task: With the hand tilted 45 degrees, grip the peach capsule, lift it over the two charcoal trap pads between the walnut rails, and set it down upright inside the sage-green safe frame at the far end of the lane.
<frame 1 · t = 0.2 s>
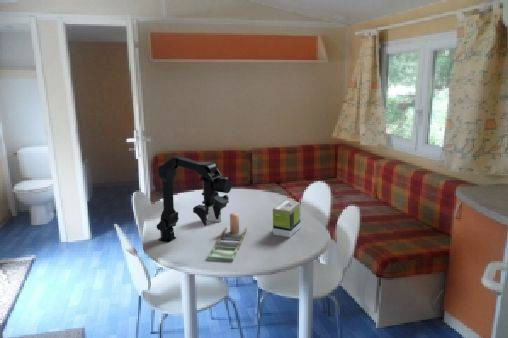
hand: (211, 222, 178), 14 cm above the table, tool pointing down, fingers open, 9 cm apart
skincare box: (215, 220, 221), on the table
tea box: (286, 231, 204), on the table
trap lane: (229, 242, 190), on the table
peach capsule: (234, 232, 203), on the table
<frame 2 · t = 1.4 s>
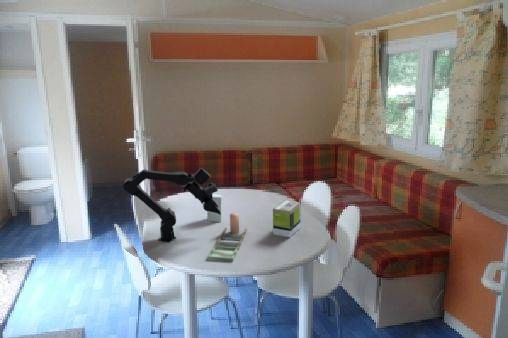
hand: (219, 210, 198), 13 cm above the table, tool tilted 45°, fingers open, 9 cm apart
nothing on the table moved.
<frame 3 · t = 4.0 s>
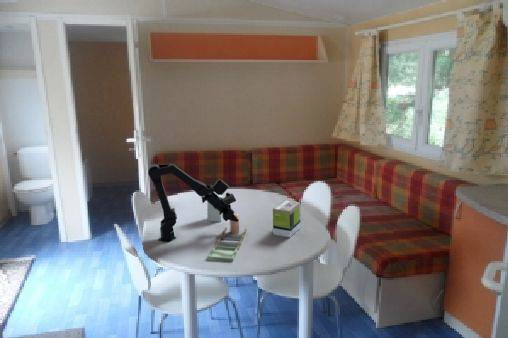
hand: (237, 219, 202), 7 cm above the table, tool tilted 45°, fingers closed on peach capsule, 5 cm apart
peach capsule: (234, 232, 203), on the table, touching gripper
everything else where it was.
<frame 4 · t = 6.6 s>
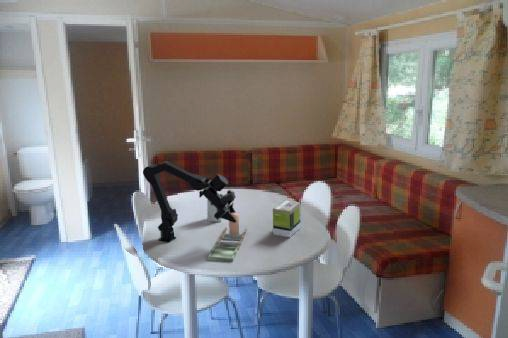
hand: (236, 220, 186), 12 cm above the table, tool tilted 45°, fingers closed on peach capsule, 5 cm apart
peach capsule: (234, 233, 188), point 5 cm above the table, touching gripper
everything else where it was.
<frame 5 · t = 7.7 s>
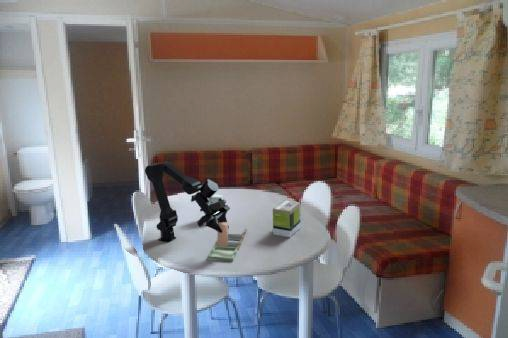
hand: (225, 230, 174), 12 cm above the table, tool tilted 45°, fingers closed on peach capsule, 5 cm apart
peach capsule: (223, 244, 176), point 5 cm above the table, touching gripper
everything else where it was.
when the fingers open (9 cm above the table, at t = 8.8 s): peach capsule drops 1 cm, resting on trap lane.
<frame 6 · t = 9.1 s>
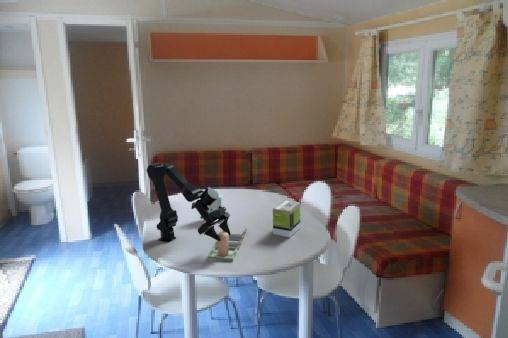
hand: (225, 237, 175), 9 cm above the table, tool tilted 45°, fingers open, 7 cm apart
peach capsule: (223, 254, 177), resting on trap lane
everything else where it was.
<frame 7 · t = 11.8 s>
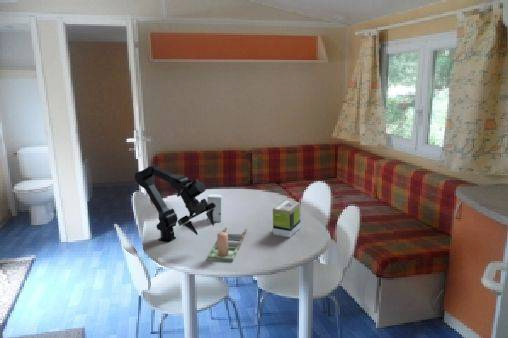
hand: (205, 229, 180), 10 cm above the table, tool tilted 35°, fingers open, 9 cm apart
nothing on the table moved.
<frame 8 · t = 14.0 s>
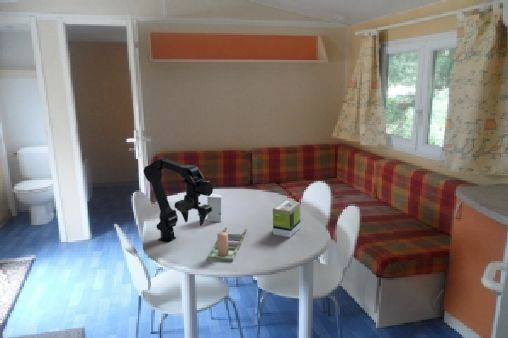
hand: (193, 223, 183), 12 cm above the table, tool pointing down, fingers open, 9 cm apart
nothing on the table moved.
at the end: peach capsule 0.0 cm from the target spot, resting on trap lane; peach capsule tilted 0°; the gripper is holding nothing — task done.
